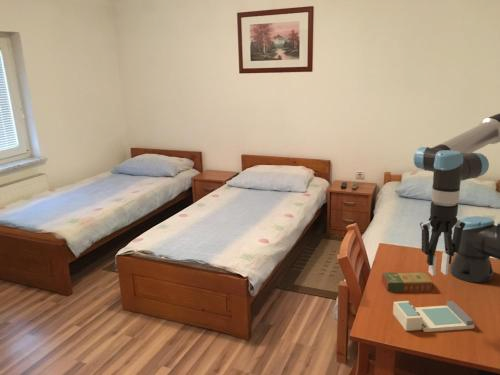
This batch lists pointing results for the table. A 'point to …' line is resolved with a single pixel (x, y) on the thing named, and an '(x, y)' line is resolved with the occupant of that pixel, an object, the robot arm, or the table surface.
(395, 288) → the carton
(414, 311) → the stub
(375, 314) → the table surface
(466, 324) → the cream teal-inset panel
